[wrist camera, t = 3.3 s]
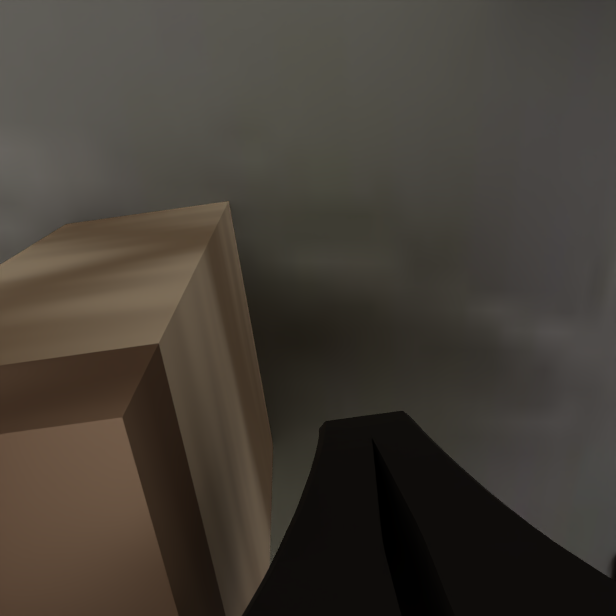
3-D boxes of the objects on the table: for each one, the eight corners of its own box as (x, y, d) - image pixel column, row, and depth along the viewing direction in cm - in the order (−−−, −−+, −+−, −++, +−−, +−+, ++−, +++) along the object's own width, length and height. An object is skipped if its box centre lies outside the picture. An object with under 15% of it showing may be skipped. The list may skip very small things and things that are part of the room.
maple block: (228, 201, 14) (122, 417, 5) (273, 445, 17) (260, 903, 7) (66, 224, 14) (-357, 483, 5) (134, 464, 17) (-58, 945, 7)
